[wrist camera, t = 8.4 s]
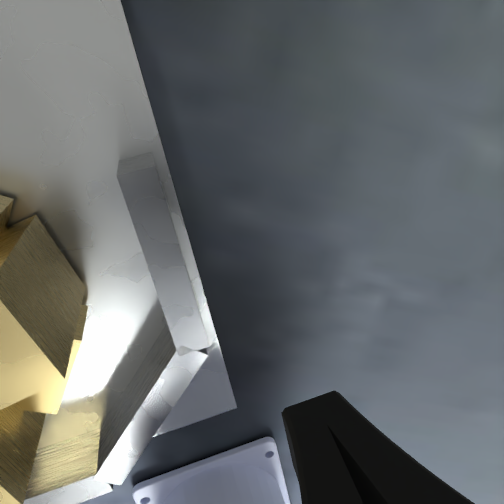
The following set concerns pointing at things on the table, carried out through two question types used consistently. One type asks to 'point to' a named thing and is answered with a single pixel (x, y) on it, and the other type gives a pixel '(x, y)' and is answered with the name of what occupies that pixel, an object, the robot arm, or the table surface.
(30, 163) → the flange plate
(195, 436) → the table surface
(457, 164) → the table surface
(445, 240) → the table surface
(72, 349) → the gold block ring
